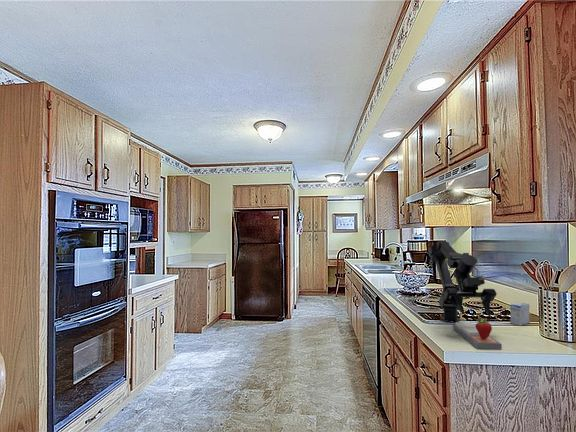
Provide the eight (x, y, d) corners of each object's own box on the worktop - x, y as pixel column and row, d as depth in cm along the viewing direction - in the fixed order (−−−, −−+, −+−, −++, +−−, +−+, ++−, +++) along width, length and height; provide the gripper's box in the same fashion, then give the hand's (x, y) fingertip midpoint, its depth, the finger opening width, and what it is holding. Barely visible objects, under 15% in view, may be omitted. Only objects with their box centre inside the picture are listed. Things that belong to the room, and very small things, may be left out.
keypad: (453, 329, 150) (452, 322, 150) (473, 330, 149) (473, 322, 149) (477, 349, 127) (476, 340, 127) (501, 349, 126) (501, 340, 126)
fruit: (481, 336, 135) (480, 314, 135) (495, 340, 130) (494, 318, 130) (472, 338, 132) (472, 316, 132) (487, 342, 127) (486, 320, 128)
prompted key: (471, 341, 134) (471, 336, 134) (488, 342, 134) (488, 336, 134) (479, 347, 128) (478, 342, 128) (497, 348, 127) (497, 342, 127)
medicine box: (518, 320, 162) (518, 301, 162) (529, 323, 158) (529, 303, 158) (510, 323, 157) (509, 304, 158) (521, 326, 154) (521, 306, 154)
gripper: (445, 268, 143) (456, 302, 132) (494, 268, 141) (509, 303, 130) (439, 284, 151) (449, 317, 140) (485, 284, 149) (498, 318, 138)
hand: (476, 314), depth 137 cm, fingers open, 9 cm apart
